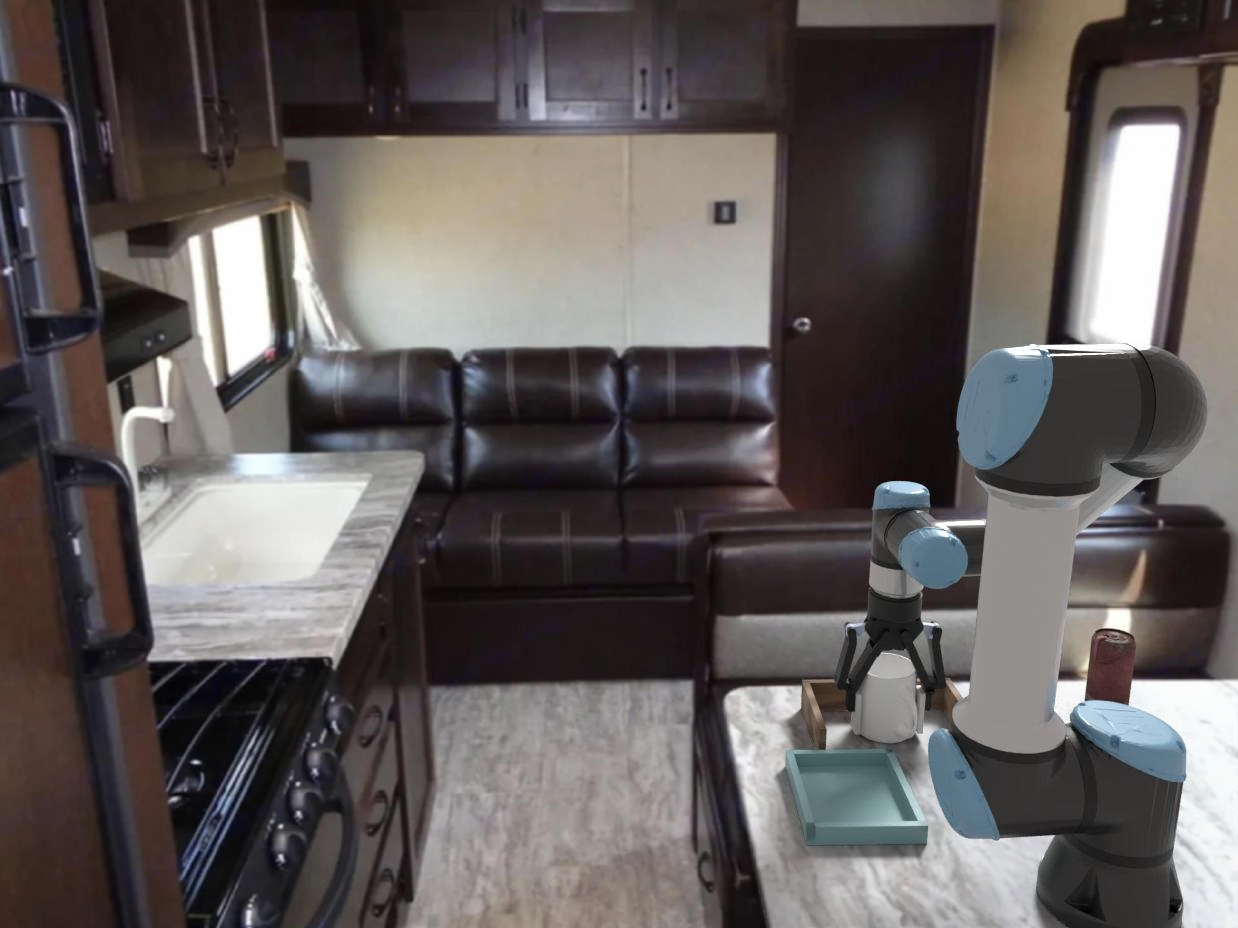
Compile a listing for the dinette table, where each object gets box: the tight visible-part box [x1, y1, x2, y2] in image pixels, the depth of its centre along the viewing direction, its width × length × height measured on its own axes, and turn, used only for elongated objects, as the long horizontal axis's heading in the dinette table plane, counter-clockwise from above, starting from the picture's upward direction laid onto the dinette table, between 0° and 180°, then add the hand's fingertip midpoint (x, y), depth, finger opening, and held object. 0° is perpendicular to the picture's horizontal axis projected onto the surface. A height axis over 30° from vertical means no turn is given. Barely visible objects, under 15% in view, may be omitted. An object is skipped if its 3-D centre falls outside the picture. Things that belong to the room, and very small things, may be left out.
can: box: [1083, 627, 1137, 706], centre depth 156 cm, size 6×6×14 cm
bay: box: [800, 677, 964, 750], centre depth 155 cm, size 15×23×5 cm, turn 90°
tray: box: [784, 748, 929, 846], centre depth 138 cm, size 18×15×3 cm
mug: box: [859, 652, 918, 744], centre depth 153 cm, size 9×12×11 cm
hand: (886, 729), depth 154 cm, fingers closed on mug, 9 cm apart
